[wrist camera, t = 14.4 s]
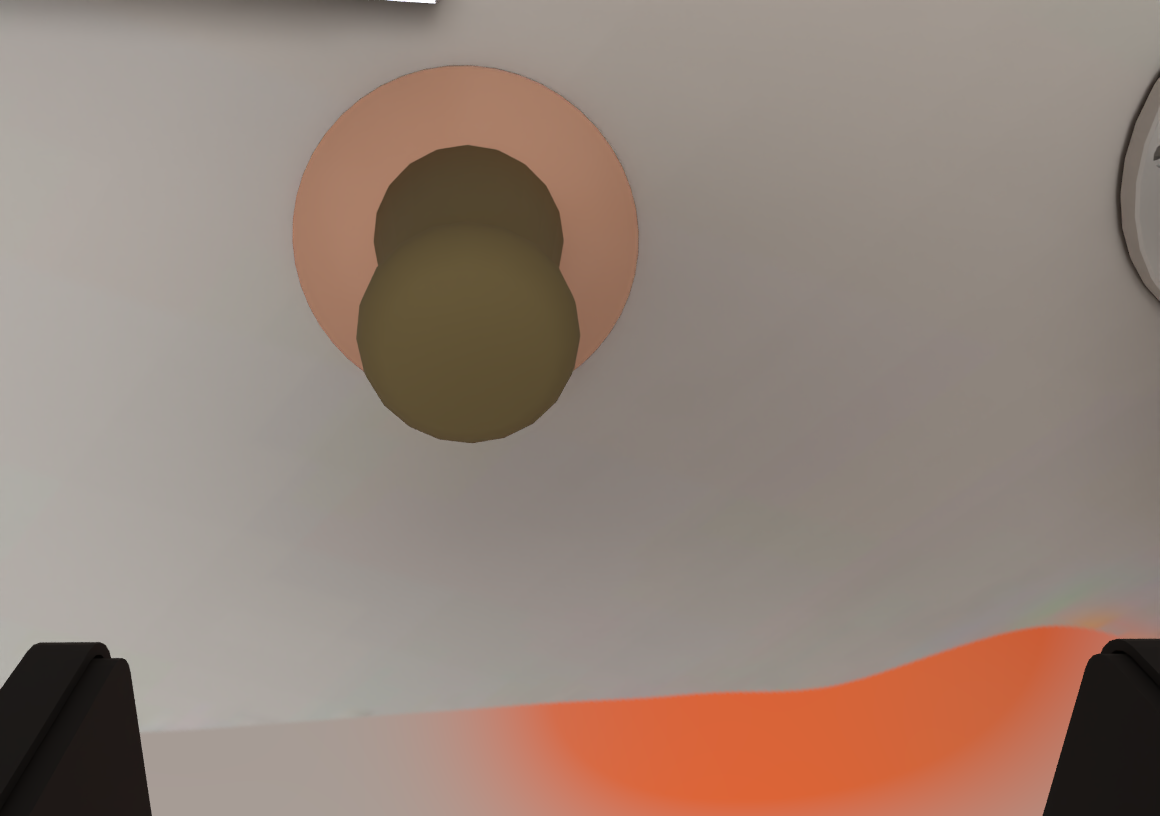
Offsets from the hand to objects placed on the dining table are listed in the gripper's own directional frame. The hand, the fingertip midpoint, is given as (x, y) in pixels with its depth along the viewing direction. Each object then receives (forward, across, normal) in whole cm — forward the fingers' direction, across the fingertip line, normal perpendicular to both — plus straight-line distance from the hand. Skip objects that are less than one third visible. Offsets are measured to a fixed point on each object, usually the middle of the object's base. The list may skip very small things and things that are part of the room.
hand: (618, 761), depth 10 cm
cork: (+24, +2, +1) cm, 25 cm away
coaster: (+25, +2, +1) cm, 25 cm away
